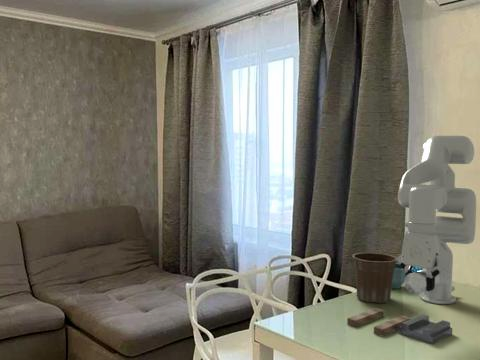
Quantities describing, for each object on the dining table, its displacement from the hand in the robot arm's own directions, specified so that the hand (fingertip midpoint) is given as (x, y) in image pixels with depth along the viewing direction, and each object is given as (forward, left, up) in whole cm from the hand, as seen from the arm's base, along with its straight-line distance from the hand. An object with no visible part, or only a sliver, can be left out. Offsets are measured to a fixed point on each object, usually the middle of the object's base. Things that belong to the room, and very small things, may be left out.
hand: (419, 287), depth 150 cm
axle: (-4, 0, -1) cm, 5 cm away
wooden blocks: (-1, -14, -15) cm, 21 cm away
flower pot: (-43, -35, -16) cm, 57 cm away
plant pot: (-23, -31, -16) cm, 41 cm away
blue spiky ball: (-57, -31, -16) cm, 67 cm away
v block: (-5, 0, -15) cm, 16 cm away
